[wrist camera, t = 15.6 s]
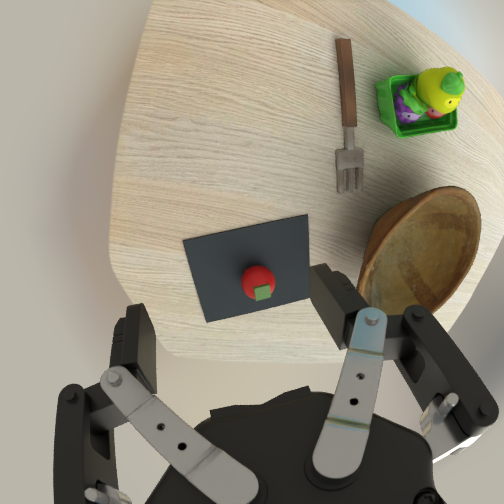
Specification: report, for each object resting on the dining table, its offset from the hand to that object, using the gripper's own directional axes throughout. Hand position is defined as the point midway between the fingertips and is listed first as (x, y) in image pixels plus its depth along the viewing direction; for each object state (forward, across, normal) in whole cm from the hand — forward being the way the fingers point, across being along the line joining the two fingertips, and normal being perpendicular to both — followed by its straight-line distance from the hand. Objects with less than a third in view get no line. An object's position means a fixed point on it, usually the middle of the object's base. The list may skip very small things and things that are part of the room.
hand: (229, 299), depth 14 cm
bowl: (+22, -27, +14) cm, 37 cm away
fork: (+22, -18, -5) cm, 29 cm away
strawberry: (+22, -5, +15) cm, 27 cm away
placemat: (+22, -5, +15) cm, 27 cm away
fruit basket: (+22, -28, -7) cm, 36 cm away
